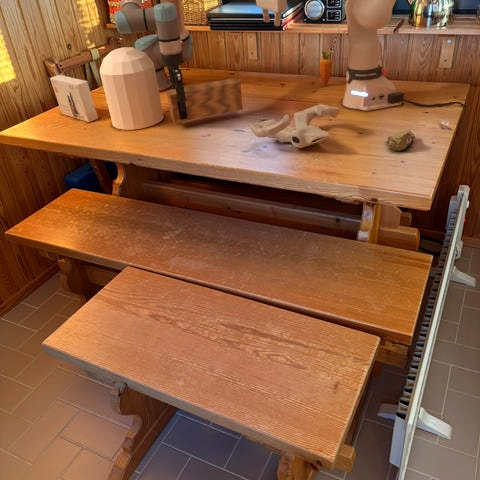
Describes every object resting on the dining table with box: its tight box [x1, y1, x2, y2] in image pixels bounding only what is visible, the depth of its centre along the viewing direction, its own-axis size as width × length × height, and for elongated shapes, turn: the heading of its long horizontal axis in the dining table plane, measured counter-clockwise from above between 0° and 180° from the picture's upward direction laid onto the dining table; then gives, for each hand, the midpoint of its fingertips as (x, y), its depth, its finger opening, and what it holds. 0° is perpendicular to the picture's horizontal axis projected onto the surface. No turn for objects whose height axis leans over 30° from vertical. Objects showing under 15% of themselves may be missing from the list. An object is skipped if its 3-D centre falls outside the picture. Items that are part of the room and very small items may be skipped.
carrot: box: [319, 49, 333, 86], centre depth 201 cm, size 5×5×15 cm
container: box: [99, 46, 164, 131], centre depth 180 cm, size 21×21×28 cm
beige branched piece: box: [250, 104, 341, 149], centre depth 155 cm, size 28×26×12 cm
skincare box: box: [49, 74, 99, 123], centre depth 193 cm, size 21×5×16 cm, turn 49°
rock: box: [387, 129, 416, 152], centre depth 146 cm, size 11×6×10 cm
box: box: [166, 77, 243, 124], centre depth 176 cm, size 27×6×11 cm, turn 109°
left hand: (181, 115), depth 176 cm, fingers closed on box, 6 cm apart
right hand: (271, 23), depth 164 cm, fingers open, 8 cm apart
